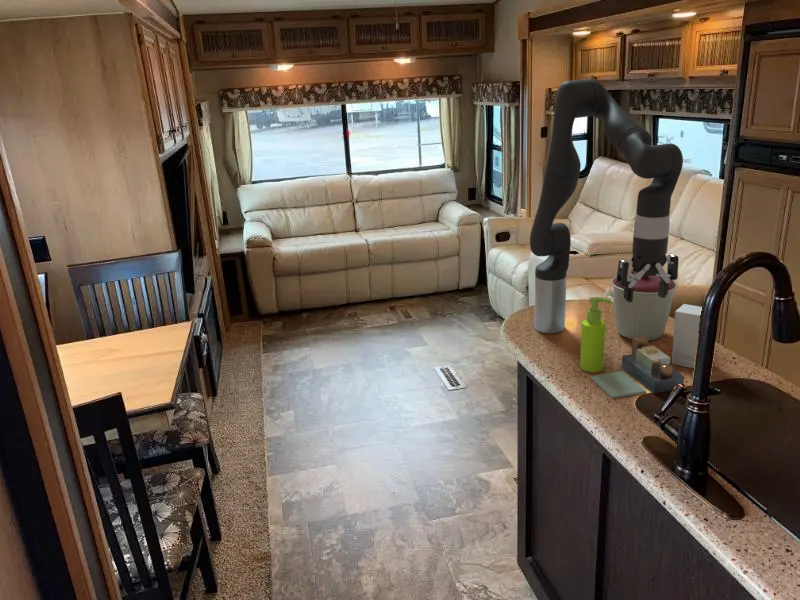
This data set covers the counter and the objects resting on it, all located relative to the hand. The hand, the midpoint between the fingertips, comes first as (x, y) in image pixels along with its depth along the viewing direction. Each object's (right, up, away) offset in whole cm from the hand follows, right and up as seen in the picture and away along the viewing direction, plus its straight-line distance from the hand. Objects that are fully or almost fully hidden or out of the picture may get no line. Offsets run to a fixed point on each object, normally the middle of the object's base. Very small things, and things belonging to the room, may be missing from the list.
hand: (645, 299), depth 146 cm
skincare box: (+19, -17, +18) cm, 31 cm away
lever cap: (+6, -17, +11) cm, 21 cm away
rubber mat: (-3, -22, +9) cm, 24 cm away
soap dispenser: (-6, -19, +19) cm, 28 cm away
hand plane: (+6, -20, +12) cm, 24 cm away
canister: (+13, -11, +37) cm, 41 cm away
